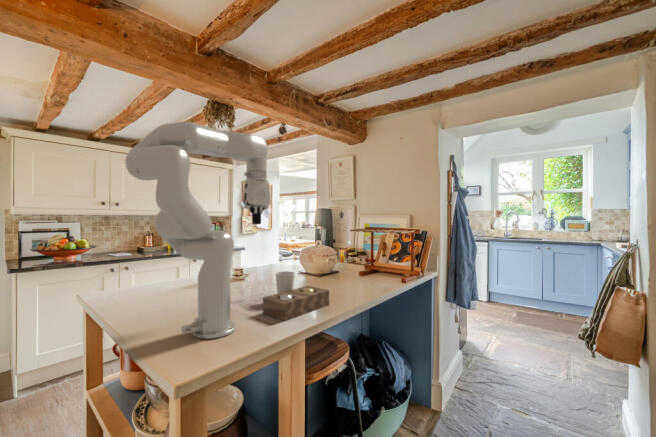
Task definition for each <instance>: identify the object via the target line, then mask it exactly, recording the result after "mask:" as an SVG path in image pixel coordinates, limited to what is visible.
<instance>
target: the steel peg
mask: <svg viewBox="0 0 656 437" xmlns="http://www.w3.org/2000/svg"><path fill="white" fill-rule="evenodd" d="M280 299H283V300H288V299H292V295H291V294H282V295H280Z"/></svg>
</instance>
